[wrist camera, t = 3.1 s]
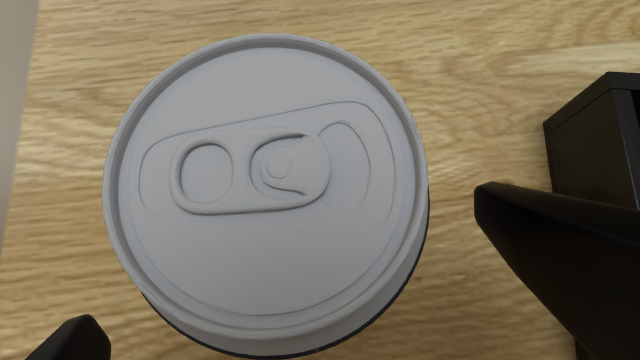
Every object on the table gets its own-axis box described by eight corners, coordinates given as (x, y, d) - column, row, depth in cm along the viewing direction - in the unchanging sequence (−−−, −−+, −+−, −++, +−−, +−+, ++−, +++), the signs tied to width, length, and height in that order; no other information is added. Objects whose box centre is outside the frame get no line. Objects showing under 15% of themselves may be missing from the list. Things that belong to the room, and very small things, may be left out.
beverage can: (367, 318, 16) (494, 356, 5) (237, 328, 16) (41, 394, 4) (354, 194, 18) (422, 4, 6) (237, 202, 18) (96, 21, 6)
